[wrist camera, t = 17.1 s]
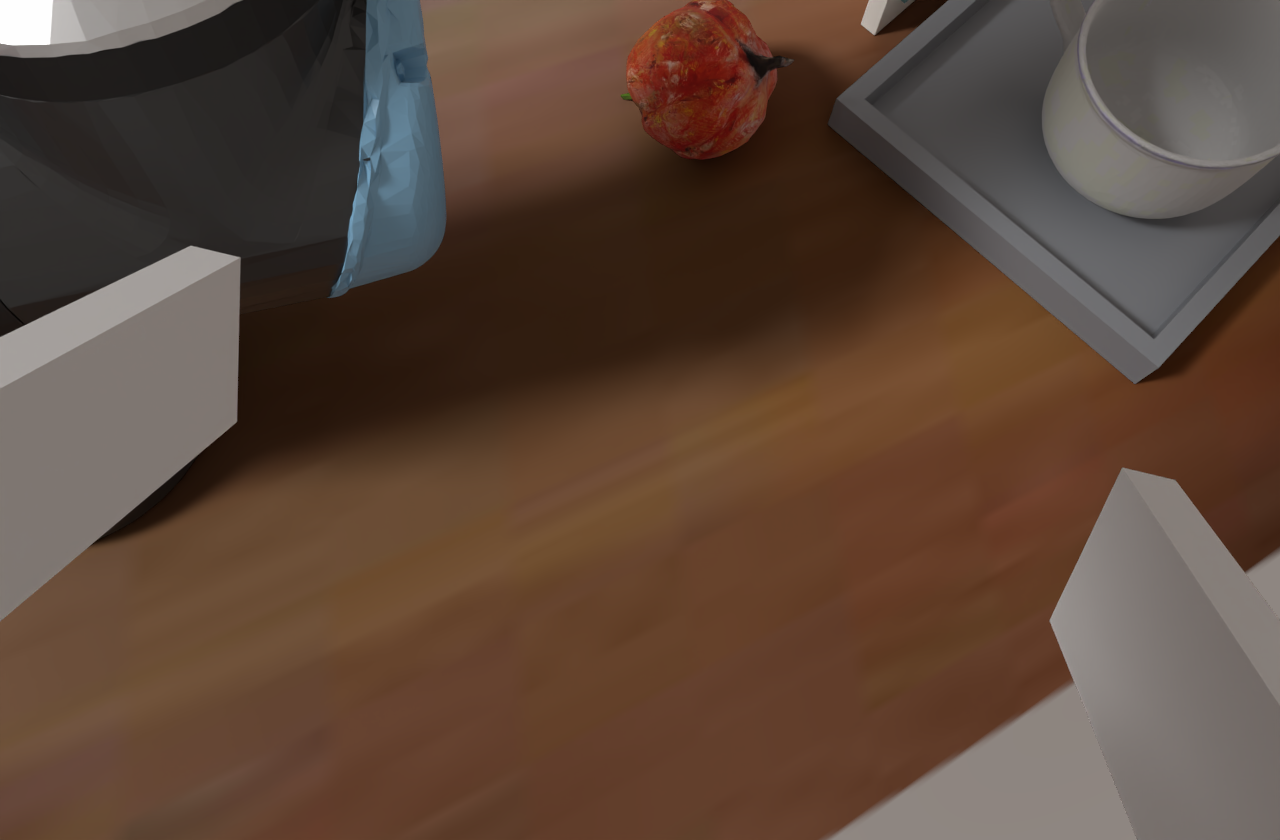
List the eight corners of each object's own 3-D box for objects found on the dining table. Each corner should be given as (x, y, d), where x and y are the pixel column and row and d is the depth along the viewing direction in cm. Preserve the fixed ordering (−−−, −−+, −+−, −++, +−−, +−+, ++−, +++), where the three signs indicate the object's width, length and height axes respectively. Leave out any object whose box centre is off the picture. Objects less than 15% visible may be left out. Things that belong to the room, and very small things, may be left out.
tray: (827, 124, 52) (836, 98, 50) (1063, -84, 56) (1080, -116, 54) (1134, 384, 48) (1158, 367, 46) (1362, 136, 52) (1392, 111, 50)
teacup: (1265, 210, 50) (1381, 114, 43) (1077, 277, 49) (1162, 191, 41) (1129, -4, 54) (1213, -126, 46) (951, 53, 53) (1008, -63, 45)
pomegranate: (621, 193, 53) (776, 189, 46) (547, 79, 48) (709, 57, 42) (686, 100, 56) (841, 84, 49) (623, -15, 51) (785, -50, 44)
